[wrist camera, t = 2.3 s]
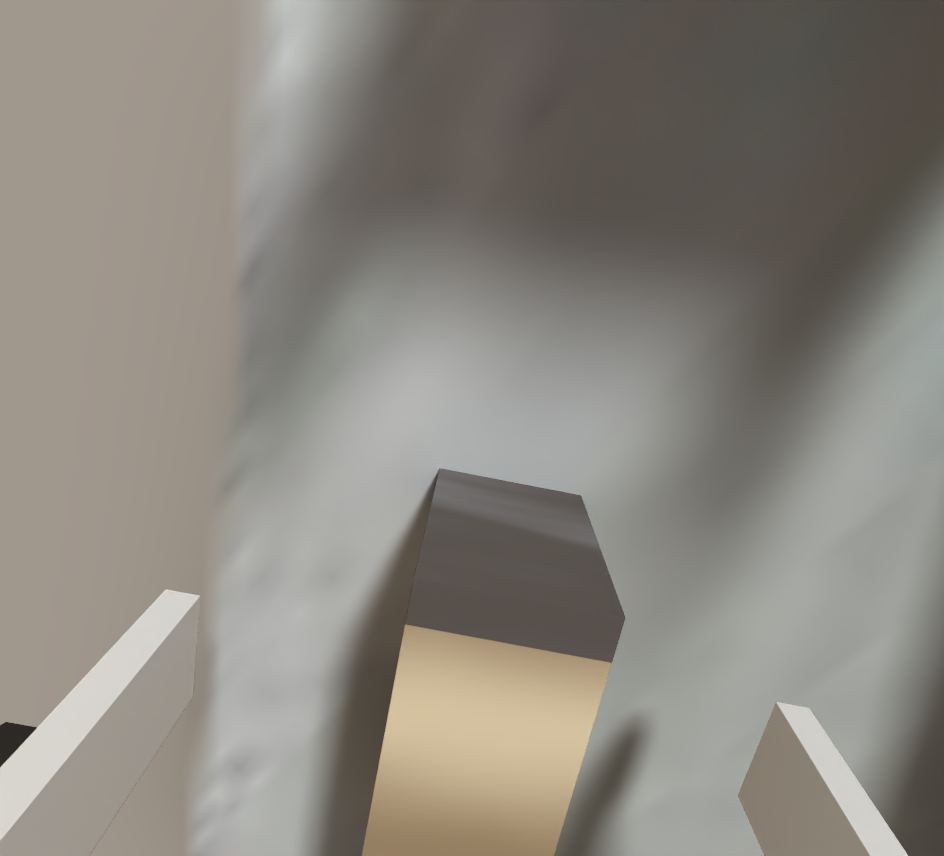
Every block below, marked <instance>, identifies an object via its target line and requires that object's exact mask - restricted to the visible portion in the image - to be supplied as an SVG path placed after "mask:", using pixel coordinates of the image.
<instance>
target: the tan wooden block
mask: <svg viewBox="0 0 944 856" xmlns="http://www.w3.org/2000/svg"><path fill="white" fill-rule="evenodd" d="M624 620H625V616H624V613H623V610H622V607H621V605H620V602H619V599H618V596H617V594H616V591H615V588H614V585H613V583H612V580H611V577H610V574H609V572H608V569H607V566H606V563H605V561H604V558H603V555H602V552H601V550H600V547H599V544H598V541H597V539H596V536H595V533H594V530H593V528H592V525H591V522H590V519H589V517H588V514H587V511H586V508H585V506H584V503H583V500H582V497H581V496H580V495H575V494H570V493H565V492H559V491H554V490H549V489H544V488H539V487H533V486H528V485H523V484H518V483H513V482H507V481H502V480H497V479H492V478H487V477H481V476H476V475H471V474H466V473H461V472H455V471H450V470H445V469H439V473H438V477H437V482H436V486H435V490H434V494H433V499H432V503H431V507H430V511H429V516H428V520H427V524H426V528H425V532H424V537H423V541H422V545H421V549H420V554H419V558H418V562H417V566H416V571H415V575H414V579H413V585H412V590H411V595H410V601H409V606H408V611H407V617H406V622H405V627H404V633H403V638H402V643H401V649H400V654H399V659H398V665H397V670H396V675H395V681H394V686H393V691H392V697H391V702H390V707H389V713H388V718H387V723H386V729H385V734H384V739H383V745H382V750H381V755H380V761H379V766H378V771H377V777H376V782H375V787H374V793H373V798H372V803H371V809H370V814H369V819H368V825H367V830H366V835H365V841H364V846H363V851H362V856H554V854H555V851H556V847H557V844H558V841H559V837H560V834H561V831H562V827H563V824H564V821H565V817H566V814H567V811H568V807H569V804H570V801H571V797H572V794H573V791H574V787H575V784H576V781H577V777H578V774H579V771H580V767H581V764H582V761H583V757H584V754H585V751H586V747H587V744H588V741H589V737H590V734H591V731H592V727H593V724H594V721H595V717H596V714H597V710H598V707H599V704H600V700H601V697H602V694H603V690H604V687H605V684H606V680H607V677H608V674H609V670H610V667H611V664H612V660H613V657H614V654H615V650H616V647H617V644H618V640H619V637H620V634H621V630H622V627H623V624H624Z"/></svg>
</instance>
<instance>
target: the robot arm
mask: <svg viewBox="0 0 944 856" xmlns="http://www.w3.org/2000/svg"><path fill="white" fill-rule="evenodd" d="M199 605H200V596H199V595H194V594H188V593H183V592H177V591H172V590H165V591H164V592H163V593H162V594H161V595H160V596H159V598H157V600H156V601H155V602H154V603H153V604H152V605H151V606H150V607H149V608H148V609H147V610H146V611H145V612H144V613H143V615H142V616H141V617H140V618H139V619H138V620H137V621H136V622H135V623H134V624H133V626H132V627H130V629H129V630H128V631H127V632H126V633H125V634H124V635H123V636H122V637H121V638H120V639H119V640H118V641H117V643H116V644H115V645H114V646H113V647H112V648H111V649H110V650H109V651H108V652H107V653H106V654H105V655H104V657H103V658H102V659H101V660H100V661H99V662H98V663H97V664H96V665H95V666H94V667H93V668H92V669H91V670H90V671H89V673H88V674H87V675H86V676H85V677H84V678H83V679H82V680H81V681H80V683H78V684H77V685H76V687H75V688H74V689H73V690H72V691H71V692H70V693H69V694H68V695H67V696H66V697H65V699H63V701H62V702H61V703H60V704H59V705H58V706H57V707H56V708H55V709H54V710H53V711H52V712H51V714H50V715H49V716H48V717H47V718H46V719H45V720H44V721H43V722H42V723H41V724H40V726H38V728H36V727H31V726H25V725H20V724H14V723H8V722H5V723H4V724H2V725H0V856H90V854H91V852H92V851H93V849H94V848H95V846H96V845H97V843H98V842H99V840H100V839H101V837H102V836H103V834H104V833H105V831H106V829H107V828H108V827H109V825H110V823H111V822H112V820H113V819H114V817H115V816H116V814H117V813H118V811H119V810H120V808H121V807H122V805H123V804H124V802H125V800H126V799H127V797H128V796H129V794H130V793H131V791H132V790H133V788H134V787H135V785H136V784H137V782H138V781H139V779H140V777H141V776H142V774H143V773H144V771H145V770H146V768H147V767H148V765H149V764H150V762H151V761H152V759H153V758H154V756H155V754H156V753H157V751H158V750H159V748H160V747H161V745H162V744H163V742H164V741H165V739H166V738H167V736H168V735H169V733H170V731H171V730H172V728H173V727H174V725H175V724H176V722H177V720H178V719H179V718H180V716H181V715H182V713H183V712H184V710H185V708H186V707H187V705H188V704H189V702H190V701H191V699H192V698H193V689H194V675H195V661H196V648H197V634H198V620H199ZM738 797H739V799H740V801H741V803H742V806H743V808H744V810H745V813H746V815H747V817H748V819H749V822H750V824H751V826H752V828H753V831H754V833H755V835H756V838H757V840H758V842H759V844H760V847H761V849H762V851H763V853H764V856H908V855H907V853H906V852H905V850H904V849H903V847H902V846H901V844H900V843H899V841H898V840H897V838H896V837H895V835H894V834H893V832H892V831H891V829H890V828H889V826H888V825H887V823H886V822H885V820H884V819H883V817H882V816H881V814H880V813H879V811H878V810H877V808H876V807H875V806H874V804H873V803H872V801H871V800H870V798H869V797H868V795H867V794H866V792H865V791H864V789H863V788H862V786H861V785H860V783H859V782H858V780H857V779H856V777H855V776H854V774H853V773H852V771H851V770H850V768H849V767H848V765H847V764H846V762H845V761H844V759H843V758H842V756H841V755H840V754H839V752H838V751H837V749H836V748H835V746H834V745H833V743H832V742H831V740H830V739H829V737H828V736H827V734H826V733H825V731H824V730H823V728H822V727H821V725H820V724H819V722H818V721H817V719H816V718H815V716H814V715H813V713H812V712H811V710H810V709H809V708H806V707H800V706H795V705H789V704H784V703H778V702H776V704H775V706H774V709H773V711H772V714H771V716H770V718H769V721H768V723H767V726H766V728H765V731H764V733H763V736H762V738H761V740H760V743H759V745H758V748H757V750H756V753H755V755H754V758H753V760H752V762H751V765H750V767H749V770H748V772H747V775H746V777H745V780H744V782H743V784H742V787H741V789H740V792H739V794H738Z"/></svg>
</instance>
